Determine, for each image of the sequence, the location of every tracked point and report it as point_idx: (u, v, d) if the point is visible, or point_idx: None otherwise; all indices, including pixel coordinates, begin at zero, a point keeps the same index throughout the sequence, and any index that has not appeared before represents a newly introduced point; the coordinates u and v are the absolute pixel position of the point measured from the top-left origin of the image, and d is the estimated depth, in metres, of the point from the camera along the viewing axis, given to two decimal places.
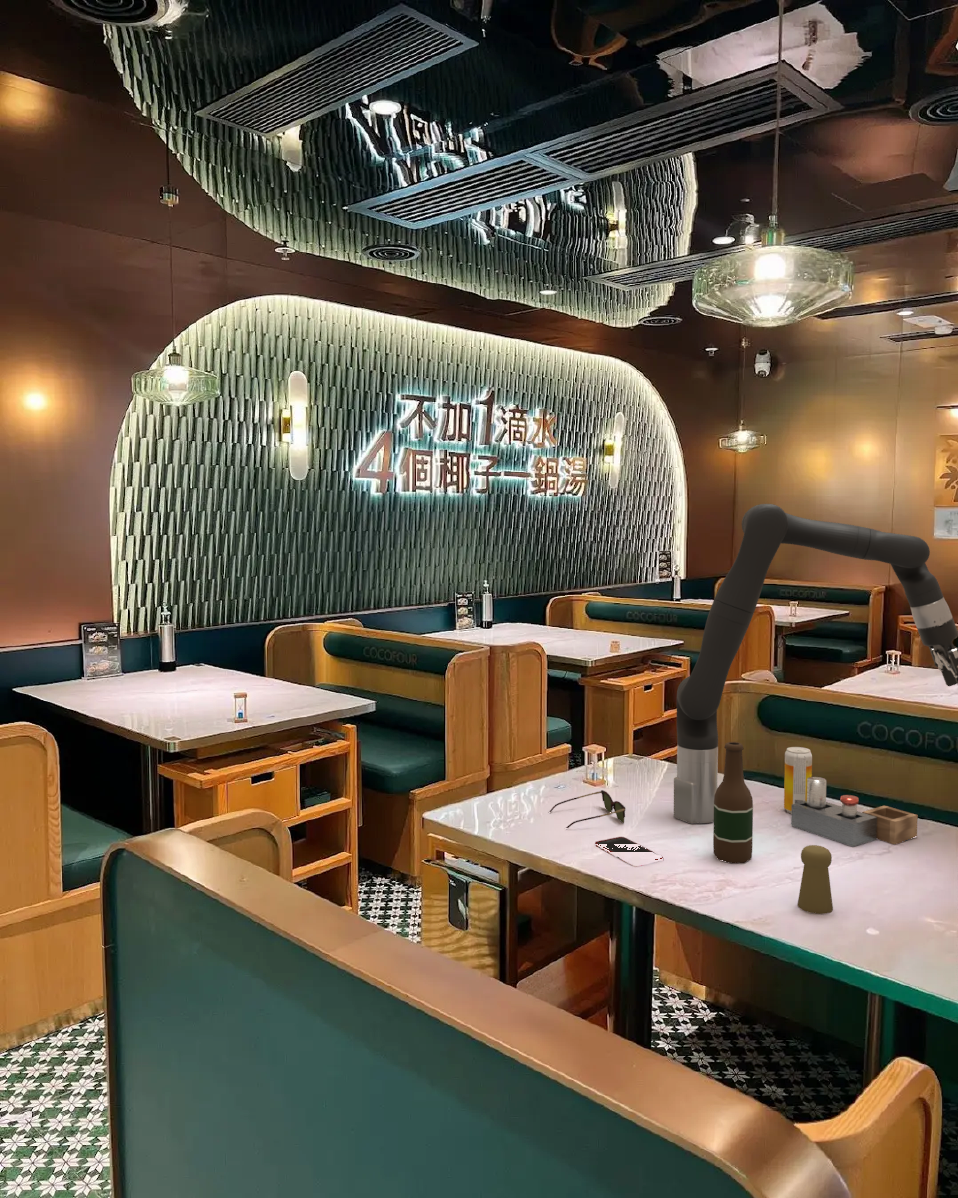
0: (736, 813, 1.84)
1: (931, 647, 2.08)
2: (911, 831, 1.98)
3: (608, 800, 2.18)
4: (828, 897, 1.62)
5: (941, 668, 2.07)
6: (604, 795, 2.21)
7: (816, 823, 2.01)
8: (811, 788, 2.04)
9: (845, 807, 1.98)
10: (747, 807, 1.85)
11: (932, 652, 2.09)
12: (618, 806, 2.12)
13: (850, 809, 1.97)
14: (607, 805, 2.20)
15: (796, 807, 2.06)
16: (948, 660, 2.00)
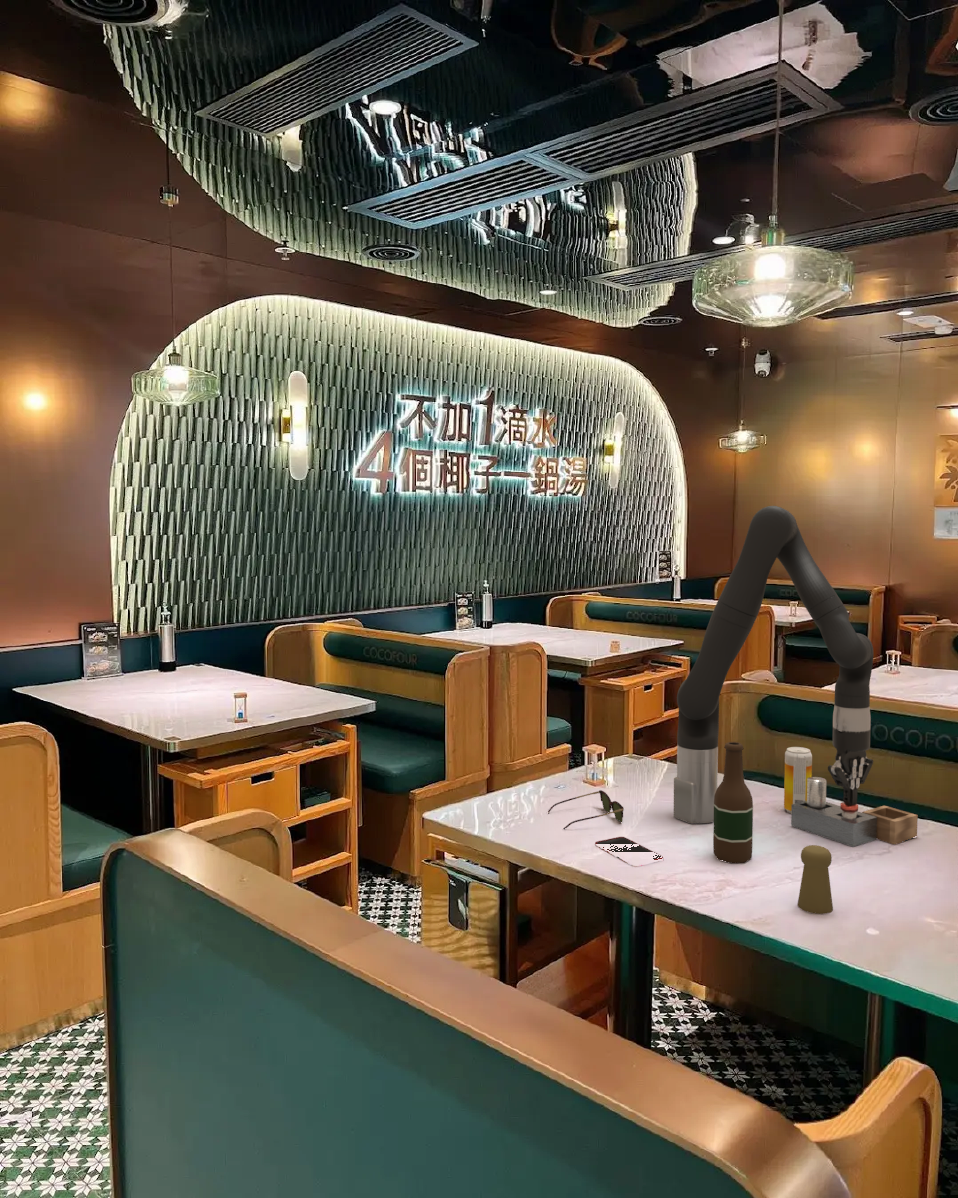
0: (736, 813, 1.84)
1: None
2: (911, 831, 1.98)
3: (607, 800, 2.18)
4: (828, 897, 1.62)
5: None
6: (602, 795, 2.21)
7: (816, 823, 2.01)
8: (811, 788, 2.04)
9: (845, 814, 1.98)
10: (747, 807, 1.85)
11: None
12: (616, 806, 2.12)
13: (850, 816, 1.97)
14: (605, 805, 2.20)
15: (796, 807, 2.06)
16: None
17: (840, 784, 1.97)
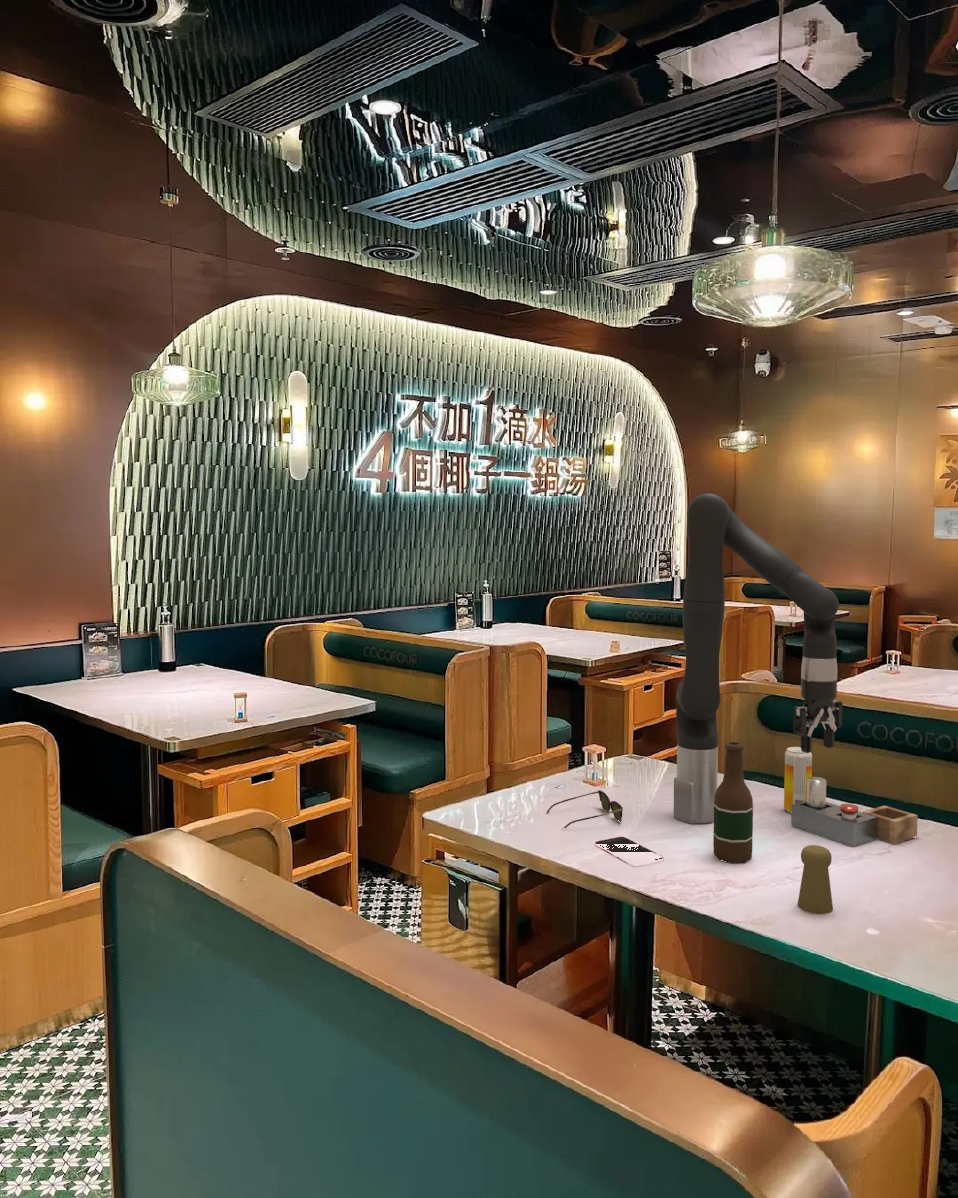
0: (736, 813, 1.84)
1: None
2: (911, 831, 1.98)
3: (606, 800, 2.18)
4: (828, 897, 1.62)
5: (824, 726, 2.07)
6: (601, 795, 2.21)
7: (816, 823, 2.01)
8: (811, 788, 2.04)
9: (845, 816, 1.98)
10: (747, 807, 1.85)
11: None
12: (615, 806, 2.12)
13: (850, 817, 1.97)
14: (604, 805, 2.20)
15: (796, 807, 2.06)
16: (807, 716, 2.04)
17: (797, 731, 2.01)
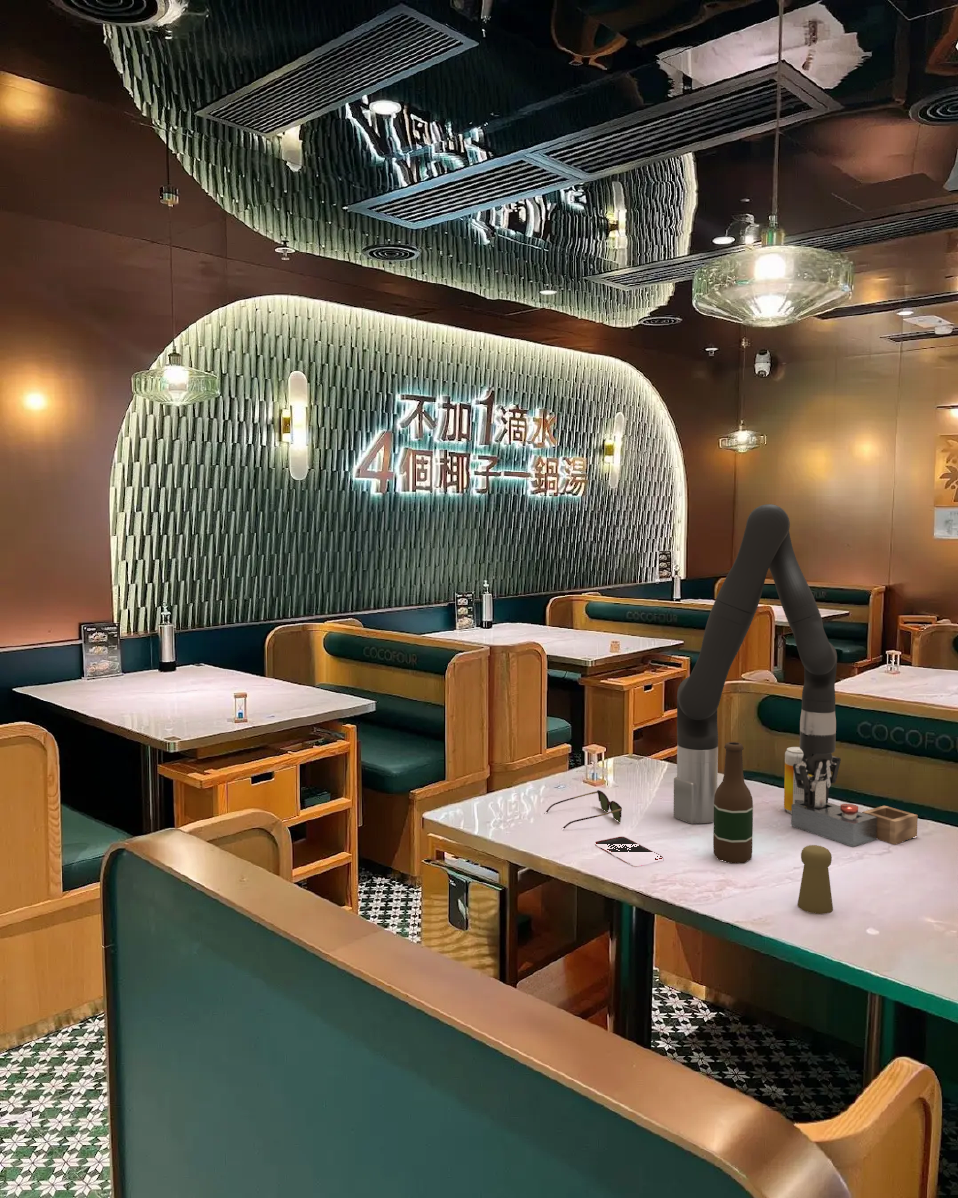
0: (736, 813, 1.84)
1: None
2: (911, 831, 1.98)
3: (605, 800, 2.18)
4: (829, 897, 1.62)
5: None
6: (600, 795, 2.21)
7: (816, 823, 2.01)
8: None
9: (845, 816, 1.98)
10: (747, 807, 1.85)
11: None
12: (614, 806, 2.12)
13: (850, 817, 1.97)
14: (603, 805, 2.20)
15: (796, 807, 2.06)
16: None
17: (801, 786, 2.03)
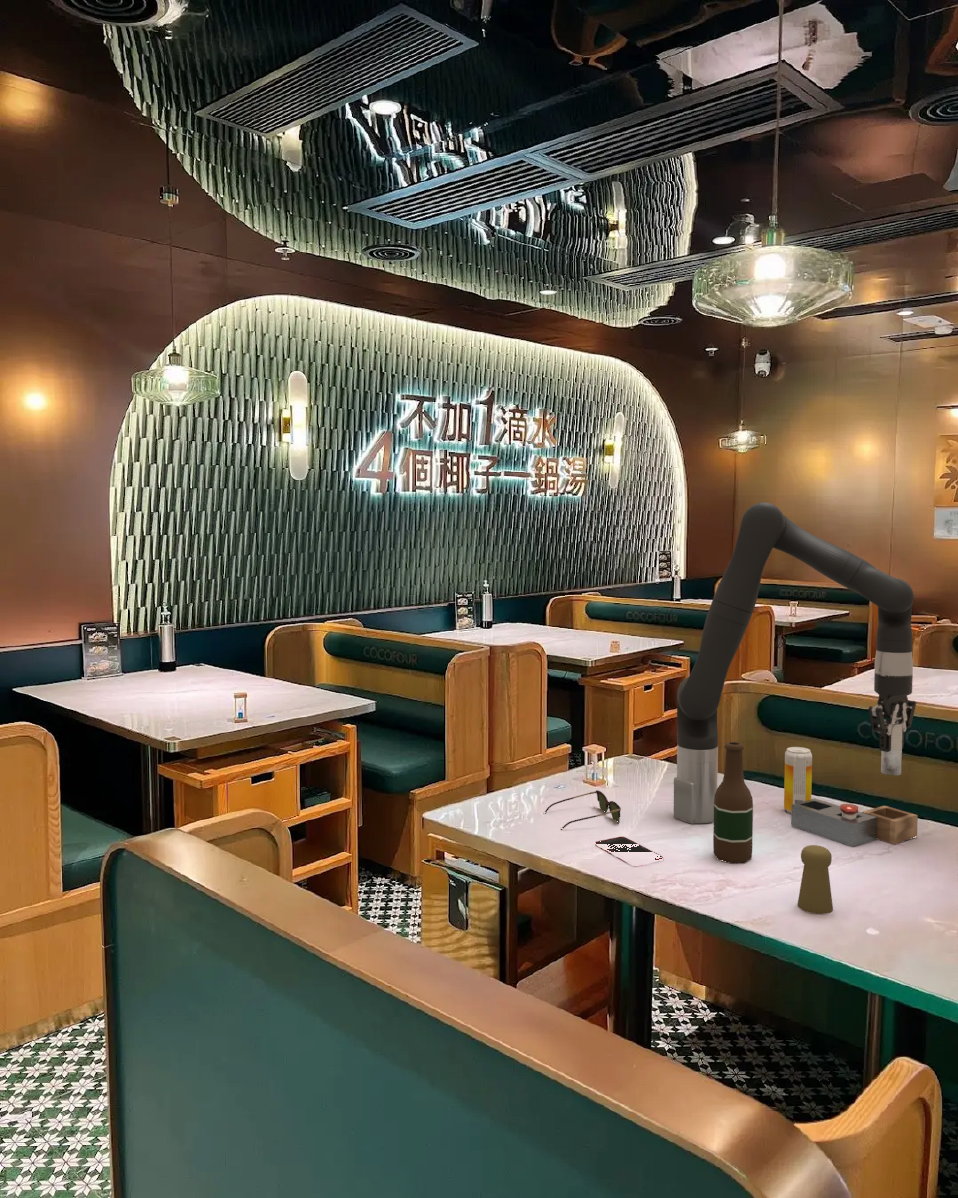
0: (736, 813, 1.84)
1: None
2: (911, 831, 1.98)
3: (604, 800, 2.18)
4: (828, 897, 1.62)
5: None
6: (599, 795, 2.21)
7: (816, 823, 2.01)
8: None
9: (845, 816, 1.98)
10: (747, 807, 1.85)
11: None
12: (613, 806, 2.12)
13: (850, 817, 1.97)
14: (602, 805, 2.20)
15: (796, 807, 2.06)
16: (882, 714, 1.98)
17: (876, 730, 1.96)
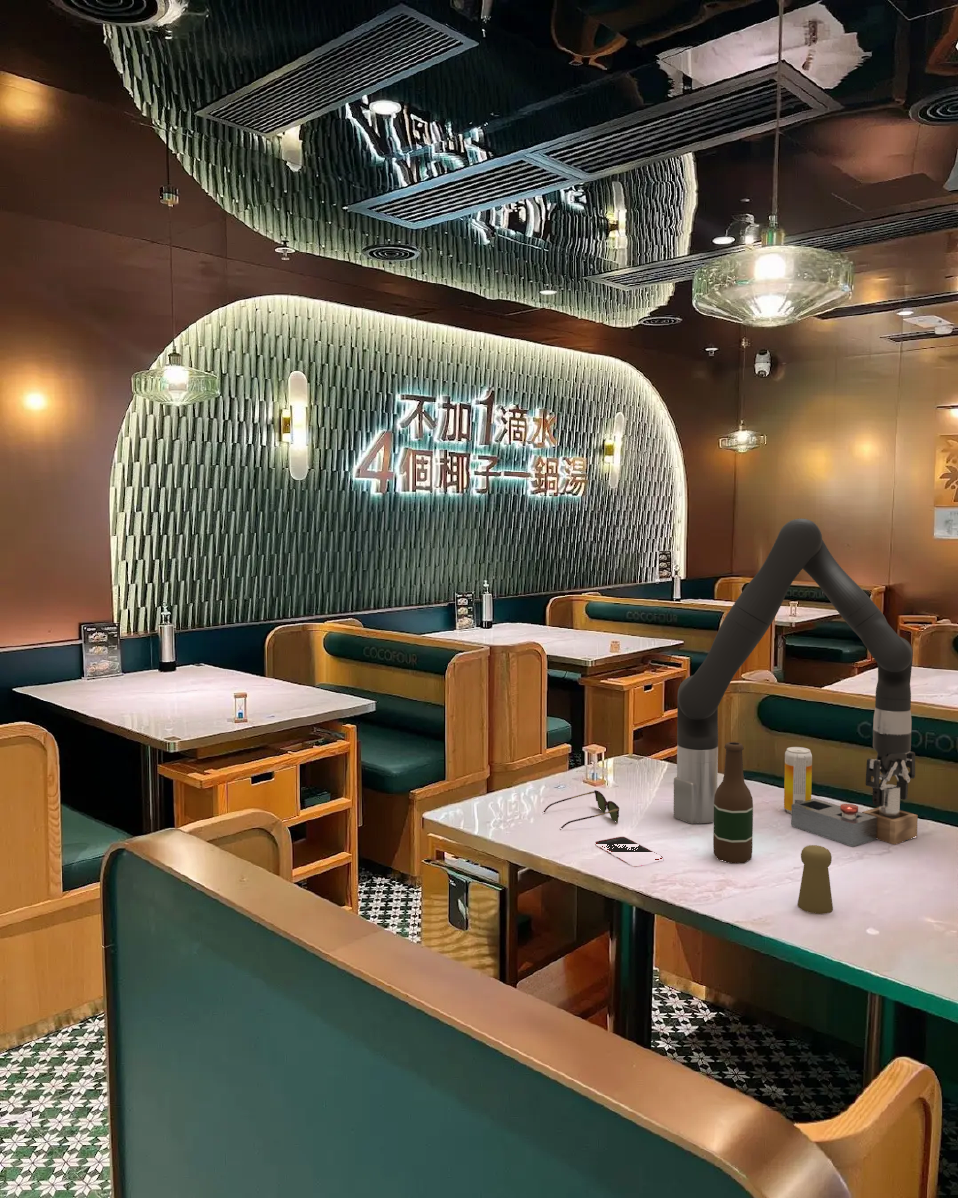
0: (736, 813, 1.84)
1: None
2: (911, 831, 1.98)
3: (602, 800, 2.18)
4: (829, 897, 1.62)
5: (897, 778, 2.02)
6: (597, 795, 2.21)
7: (816, 823, 2.01)
8: (885, 796, 1.98)
9: (845, 816, 1.98)
10: (747, 807, 1.85)
11: None
12: (612, 806, 2.12)
13: (850, 817, 1.97)
14: (600, 805, 2.20)
15: (796, 807, 2.06)
16: (879, 769, 1.98)
17: (869, 784, 1.96)
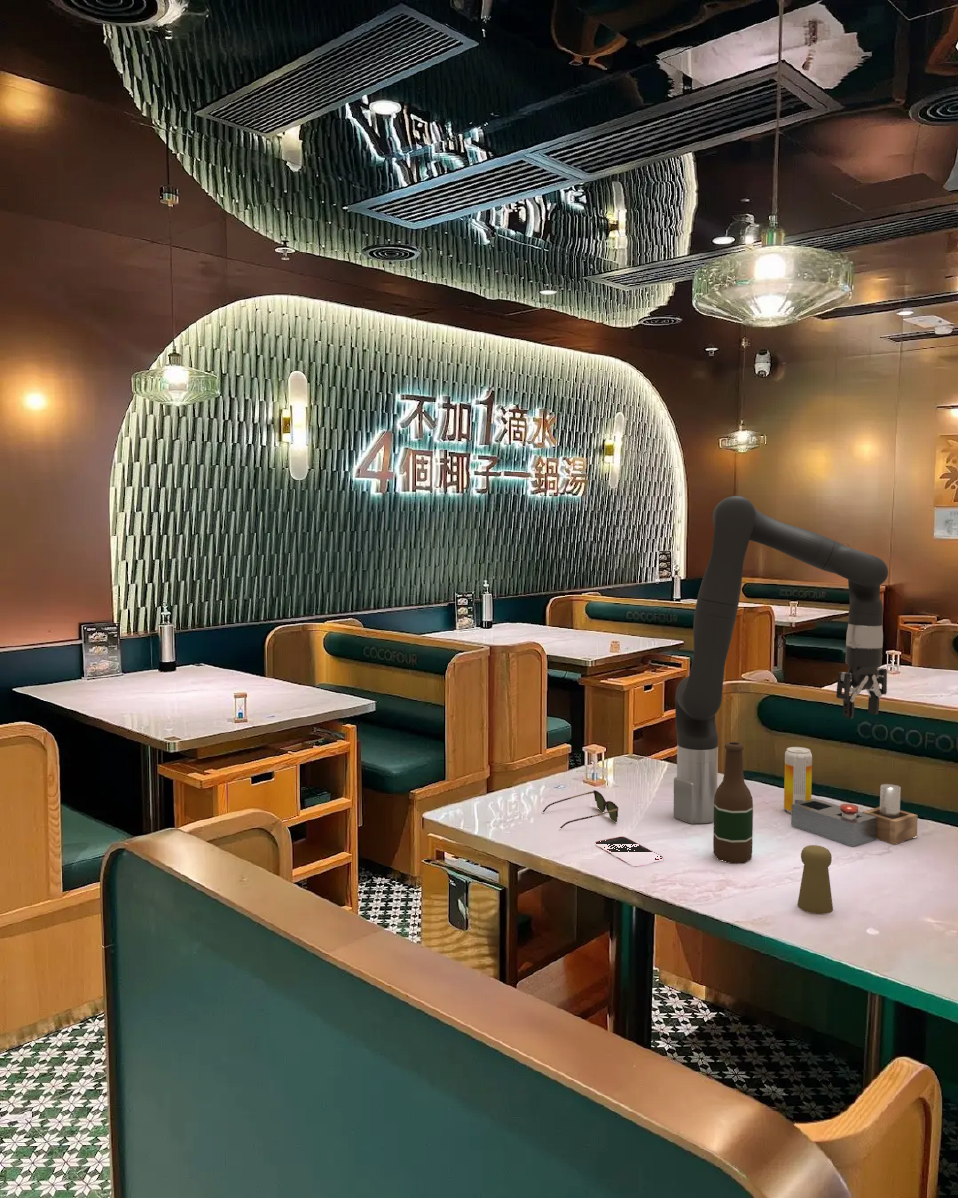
0: (736, 813, 1.84)
1: None
2: (911, 831, 1.98)
3: (601, 800, 2.18)
4: (829, 897, 1.62)
5: (869, 693, 2.08)
6: (596, 795, 2.21)
7: (816, 823, 2.01)
8: (885, 796, 1.98)
9: (845, 816, 1.98)
10: (747, 807, 1.85)
11: None
12: (611, 806, 2.12)
13: (850, 817, 1.97)
14: (599, 805, 2.20)
15: (796, 807, 2.06)
16: (850, 683, 2.04)
17: (840, 696, 2.02)
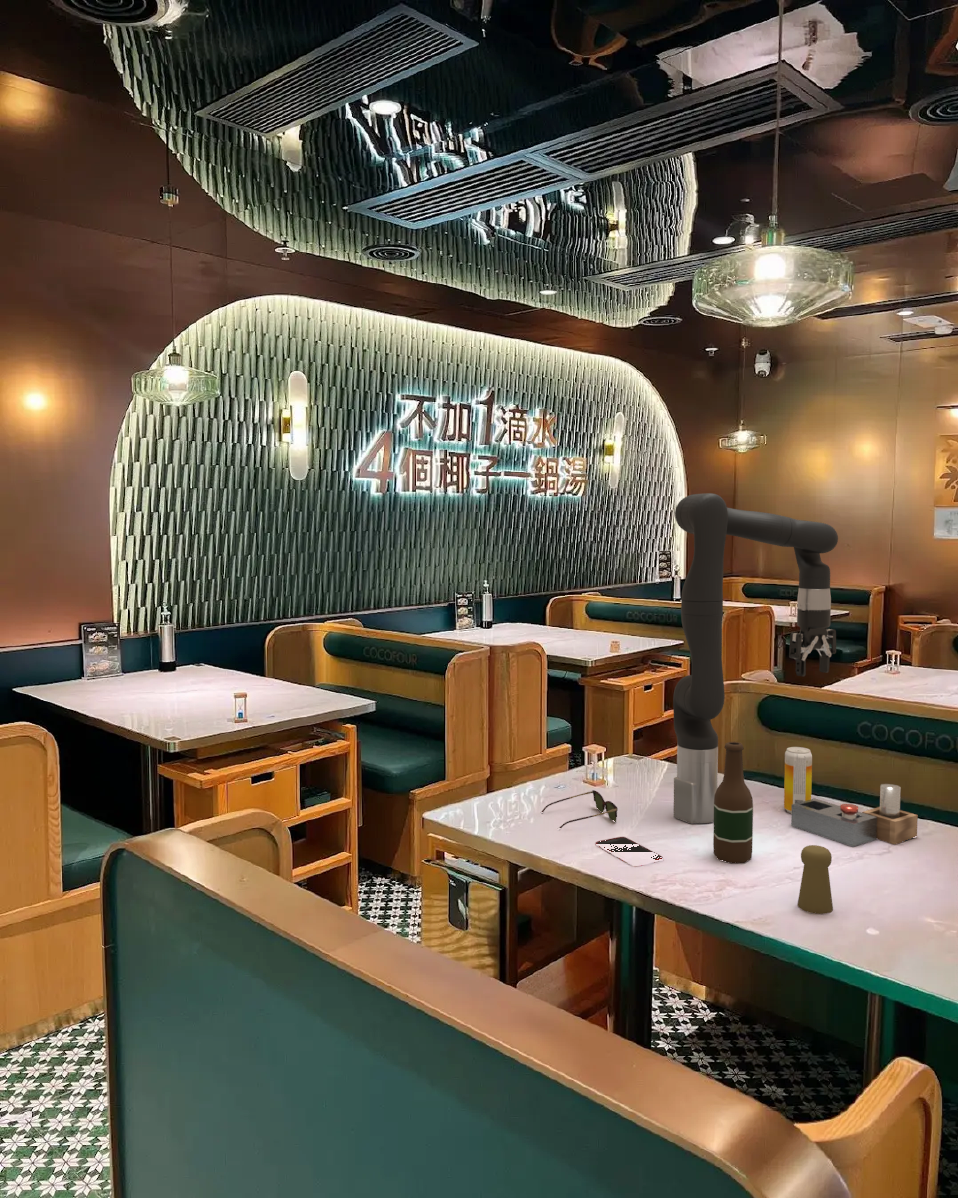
0: (736, 813, 1.84)
1: None
2: (911, 831, 1.98)
3: (600, 800, 2.18)
4: (829, 897, 1.62)
5: (820, 653, 2.22)
6: (595, 795, 2.21)
7: (816, 823, 2.01)
8: (885, 795, 1.98)
9: (845, 816, 1.98)
10: (747, 807, 1.85)
11: None
12: (610, 806, 2.12)
13: (850, 817, 1.97)
14: (598, 805, 2.20)
15: (796, 807, 2.06)
16: (802, 643, 2.18)
17: (792, 656, 2.16)
